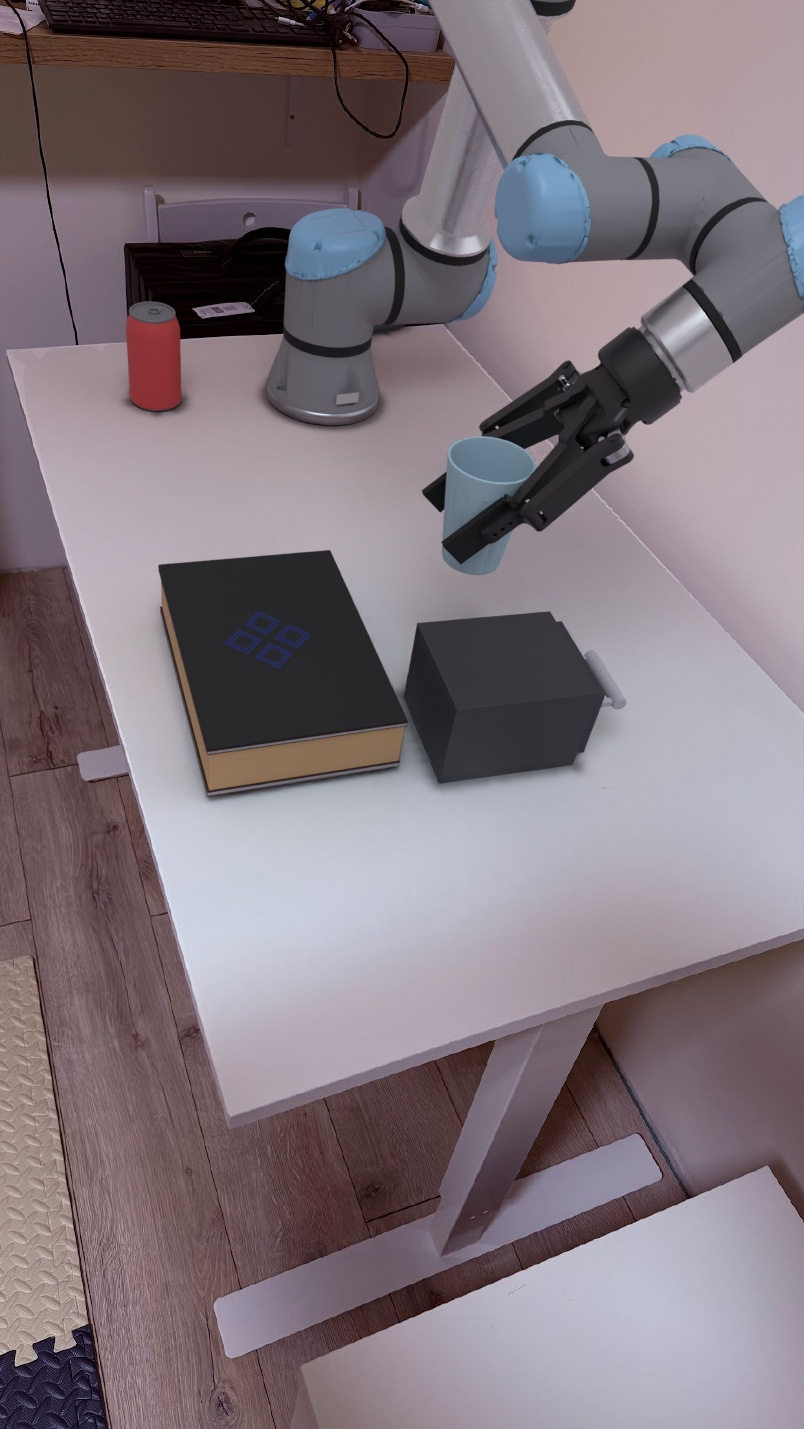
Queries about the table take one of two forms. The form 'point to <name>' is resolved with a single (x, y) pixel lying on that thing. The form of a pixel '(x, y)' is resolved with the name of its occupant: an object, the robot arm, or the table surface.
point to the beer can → (154, 356)
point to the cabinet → (497, 695)
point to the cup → (481, 491)
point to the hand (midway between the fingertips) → (440, 526)
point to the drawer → (596, 685)
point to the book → (277, 672)
